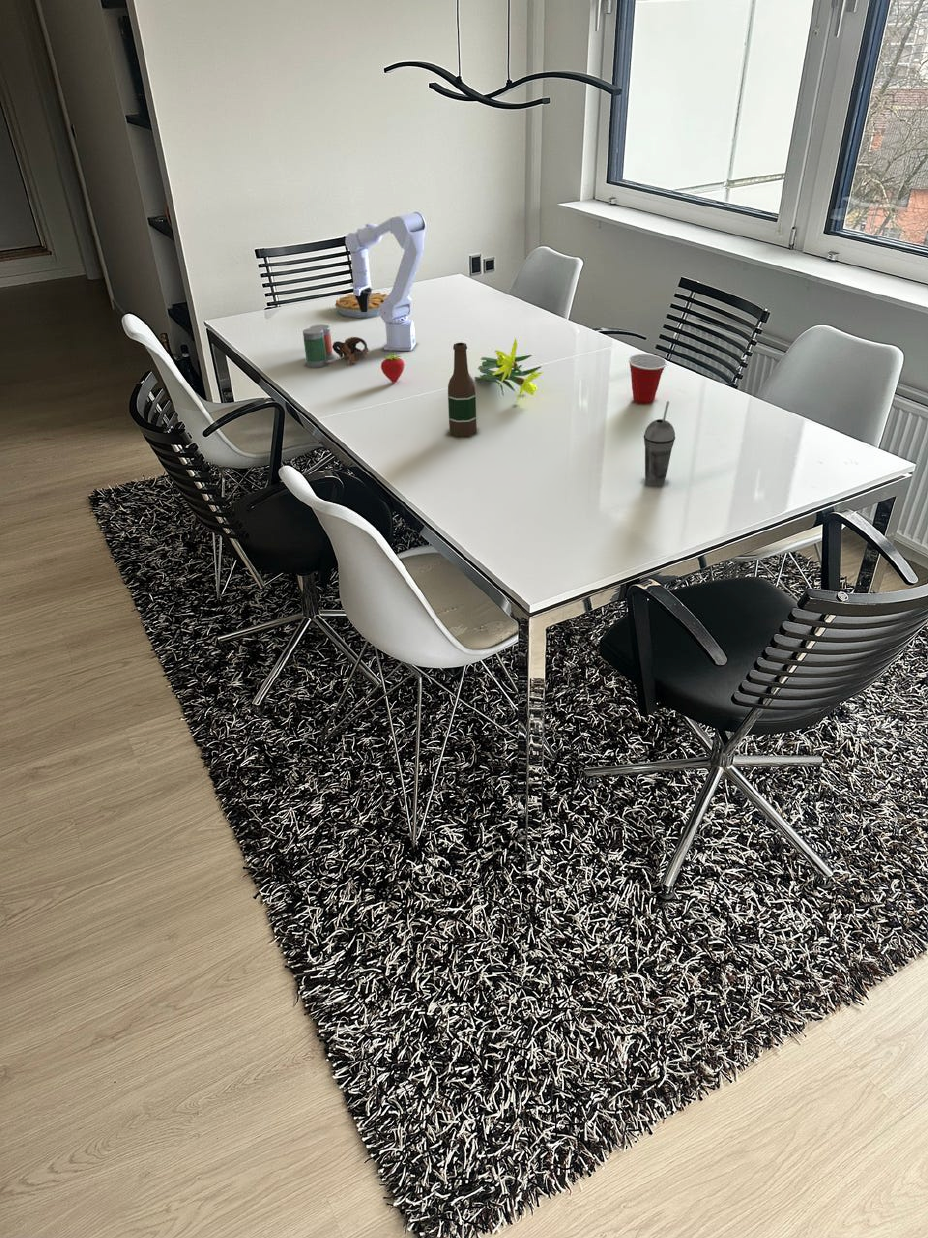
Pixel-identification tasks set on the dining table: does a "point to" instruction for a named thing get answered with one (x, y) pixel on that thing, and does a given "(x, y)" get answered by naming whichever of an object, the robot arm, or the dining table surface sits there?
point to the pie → (352, 309)
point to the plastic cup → (646, 376)
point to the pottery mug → (351, 349)
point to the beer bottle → (461, 396)
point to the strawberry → (392, 367)
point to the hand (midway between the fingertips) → (364, 311)
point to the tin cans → (317, 345)
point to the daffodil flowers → (509, 371)
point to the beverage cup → (658, 450)
